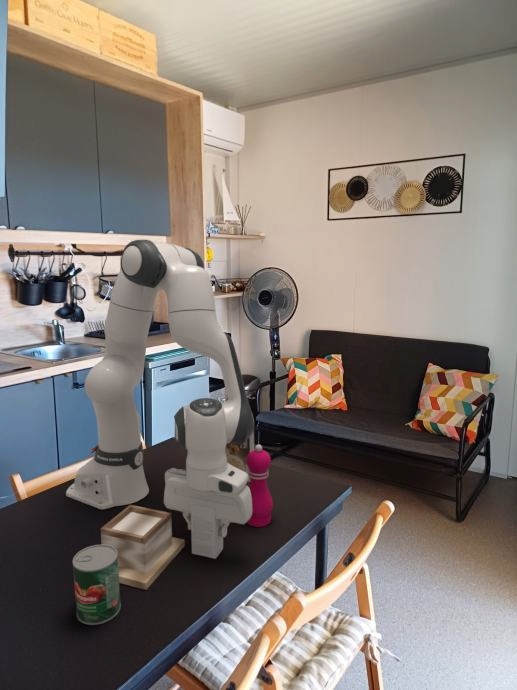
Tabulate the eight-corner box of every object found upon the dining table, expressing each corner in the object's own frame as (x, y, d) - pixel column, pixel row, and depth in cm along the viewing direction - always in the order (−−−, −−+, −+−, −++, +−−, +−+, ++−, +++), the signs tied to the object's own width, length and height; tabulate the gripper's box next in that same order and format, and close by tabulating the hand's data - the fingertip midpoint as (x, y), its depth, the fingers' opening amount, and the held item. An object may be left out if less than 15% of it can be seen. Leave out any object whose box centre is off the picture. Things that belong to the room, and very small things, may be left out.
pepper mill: (269, 529, 119) (270, 451, 116) (240, 526, 121) (240, 449, 117) (274, 514, 126) (275, 440, 123) (247, 511, 128) (247, 438, 124)
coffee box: (255, 473, 150) (255, 422, 147) (250, 482, 143) (250, 430, 140) (226, 470, 152) (226, 420, 149) (220, 479, 146) (219, 427, 143)
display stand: (87, 574, 103) (85, 533, 101) (132, 533, 117) (130, 497, 116) (146, 590, 98) (144, 547, 96) (184, 545, 113) (183, 508, 111)
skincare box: (223, 548, 112) (223, 499, 109) (215, 559, 108) (215, 509, 105) (199, 543, 114) (198, 495, 111) (190, 553, 110) (189, 504, 107)
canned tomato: (123, 593, 97) (120, 542, 95) (117, 623, 89) (114, 568, 87) (81, 597, 96) (78, 545, 94) (71, 627, 88) (67, 571, 86)
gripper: (157, 472, 108) (159, 530, 110) (244, 488, 101) (244, 549, 103) (172, 461, 114) (173, 516, 116) (255, 475, 107) (254, 533, 109)
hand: (207, 532), depth 110 cm, fingers closed on skincare box, 6 cm apart
